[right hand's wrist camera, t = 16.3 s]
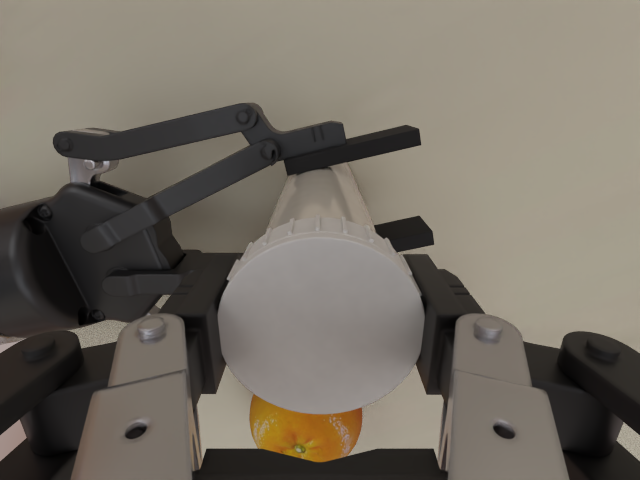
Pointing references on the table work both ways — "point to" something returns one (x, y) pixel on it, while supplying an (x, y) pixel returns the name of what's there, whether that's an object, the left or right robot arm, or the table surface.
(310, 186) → the beige plastic cylinder
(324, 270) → the lid
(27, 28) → the table surface
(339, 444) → the fruit
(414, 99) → the table surface
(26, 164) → the table surface
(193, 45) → the table surface
